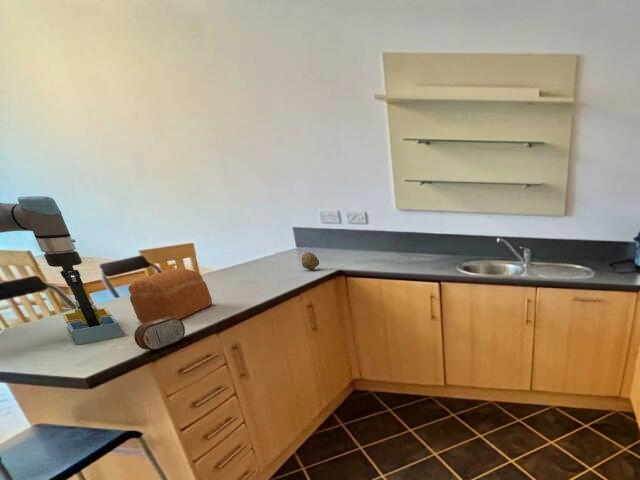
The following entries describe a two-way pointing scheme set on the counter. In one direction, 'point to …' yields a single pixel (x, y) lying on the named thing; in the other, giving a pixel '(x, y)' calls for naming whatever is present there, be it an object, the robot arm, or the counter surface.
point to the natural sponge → (309, 261)
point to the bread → (169, 295)
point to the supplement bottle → (83, 315)
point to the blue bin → (95, 330)
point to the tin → (159, 333)
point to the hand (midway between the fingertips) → (93, 324)
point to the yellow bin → (72, 318)
